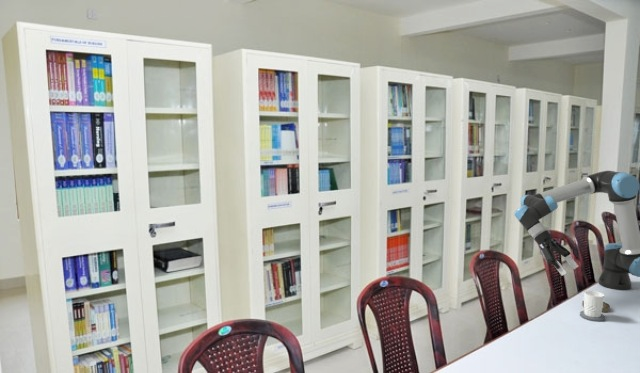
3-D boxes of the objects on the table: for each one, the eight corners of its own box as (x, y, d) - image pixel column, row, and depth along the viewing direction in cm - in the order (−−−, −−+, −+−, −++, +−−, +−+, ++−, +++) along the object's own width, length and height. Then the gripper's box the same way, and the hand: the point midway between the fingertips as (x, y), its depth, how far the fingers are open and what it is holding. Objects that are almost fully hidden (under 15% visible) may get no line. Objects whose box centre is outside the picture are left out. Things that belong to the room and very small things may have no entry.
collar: (587, 301, 231) (588, 297, 231) (612, 308, 223) (613, 304, 223) (578, 307, 224) (579, 303, 224) (604, 314, 216) (604, 310, 216)
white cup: (597, 311, 216) (599, 290, 215) (605, 318, 209) (607, 297, 207) (579, 310, 217) (580, 290, 216) (587, 317, 209) (588, 296, 208)
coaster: (584, 310, 220) (585, 308, 220) (608, 317, 212) (608, 315, 212) (576, 316, 213) (576, 314, 213) (600, 323, 206) (600, 321, 206)
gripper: (545, 234, 239) (574, 269, 230) (522, 242, 223) (553, 281, 214) (556, 225, 235) (587, 261, 226) (534, 233, 218) (566, 272, 209)
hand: (570, 271), depth 220 cm, fingers open, 13 cm apart
